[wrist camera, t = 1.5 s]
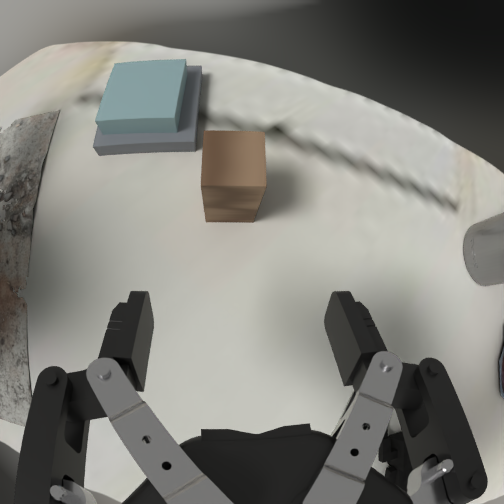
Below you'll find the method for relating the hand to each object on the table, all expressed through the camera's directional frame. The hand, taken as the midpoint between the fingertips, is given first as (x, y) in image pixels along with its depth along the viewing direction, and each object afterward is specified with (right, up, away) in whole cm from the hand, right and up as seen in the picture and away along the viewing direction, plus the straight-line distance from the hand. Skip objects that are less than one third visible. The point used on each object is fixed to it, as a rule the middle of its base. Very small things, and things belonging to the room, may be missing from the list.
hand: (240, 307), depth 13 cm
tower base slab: (-12, +20, +22) cm, 32 cm away
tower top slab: (-12, +20, +19) cm, 30 cm away
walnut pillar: (-2, +8, +20) cm, 22 cm away
